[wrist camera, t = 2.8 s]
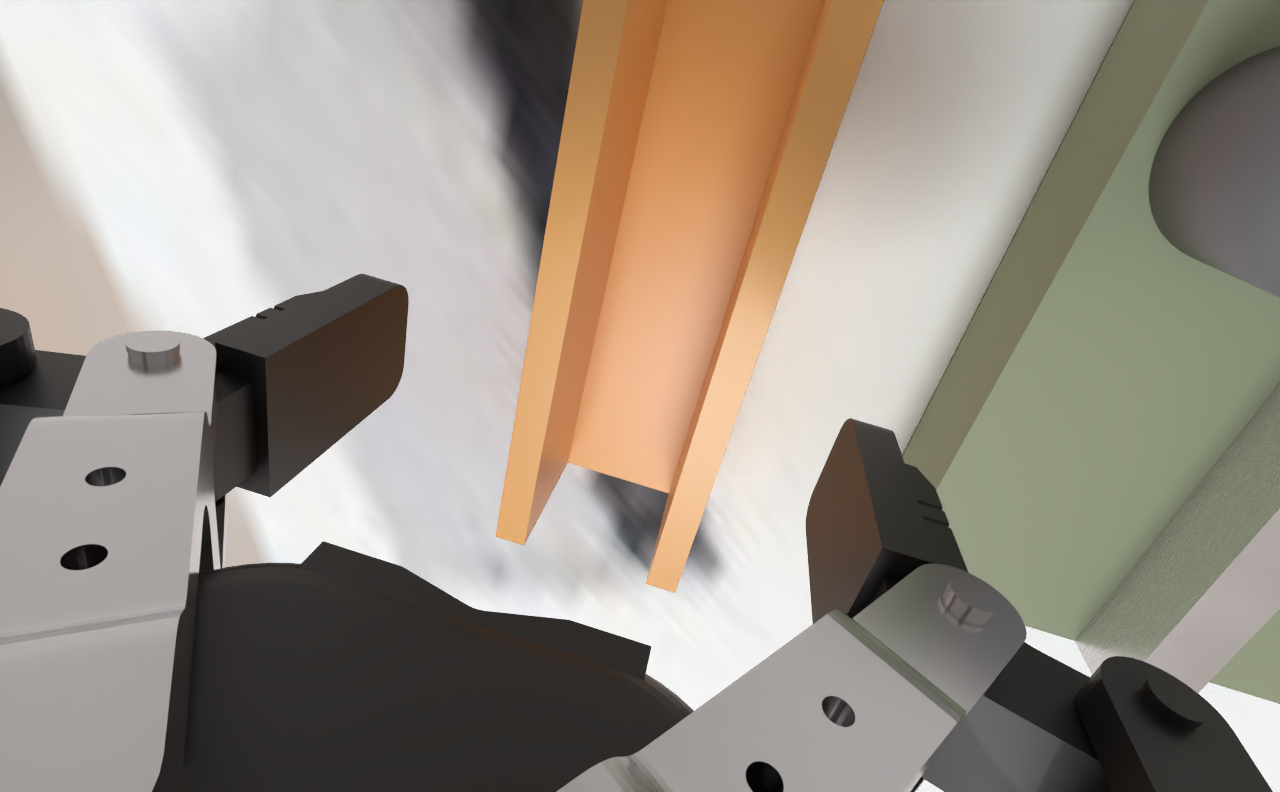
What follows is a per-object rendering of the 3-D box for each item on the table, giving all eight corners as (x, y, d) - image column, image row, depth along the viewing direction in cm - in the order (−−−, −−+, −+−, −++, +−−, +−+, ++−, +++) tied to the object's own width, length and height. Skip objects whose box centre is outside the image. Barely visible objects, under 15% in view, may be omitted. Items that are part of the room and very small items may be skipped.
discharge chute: (649, -47, 15) (598, -92, 11) (857, 7, 15) (889, -18, 11) (551, 442, 22) (495, 536, 18) (695, 486, 22) (674, 592, 17)
